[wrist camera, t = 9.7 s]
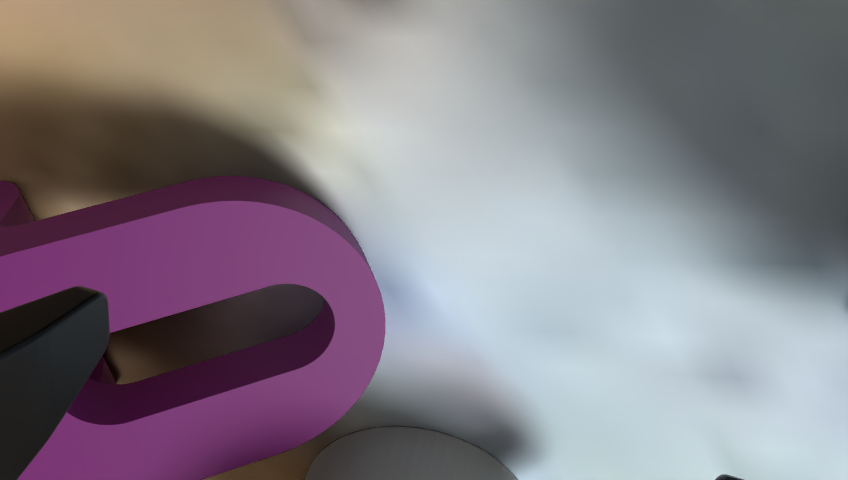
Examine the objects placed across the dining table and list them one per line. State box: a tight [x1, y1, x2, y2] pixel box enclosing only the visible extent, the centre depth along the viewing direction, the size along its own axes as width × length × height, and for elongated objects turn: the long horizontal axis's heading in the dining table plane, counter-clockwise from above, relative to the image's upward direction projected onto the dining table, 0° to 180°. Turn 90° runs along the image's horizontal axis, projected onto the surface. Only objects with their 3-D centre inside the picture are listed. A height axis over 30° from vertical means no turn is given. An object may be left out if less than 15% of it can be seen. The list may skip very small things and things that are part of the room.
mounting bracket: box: [0, 176, 385, 480], centre depth 24 cm, size 10×8×18 cm
